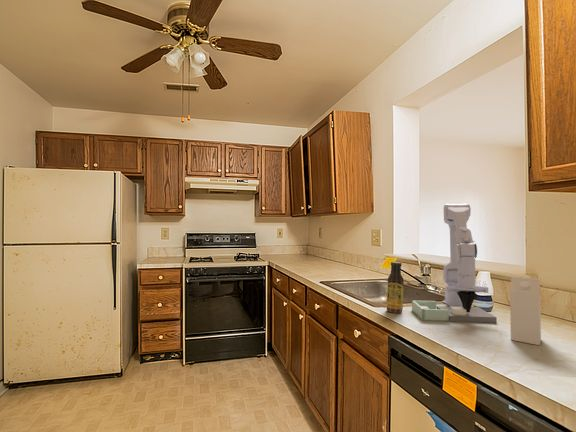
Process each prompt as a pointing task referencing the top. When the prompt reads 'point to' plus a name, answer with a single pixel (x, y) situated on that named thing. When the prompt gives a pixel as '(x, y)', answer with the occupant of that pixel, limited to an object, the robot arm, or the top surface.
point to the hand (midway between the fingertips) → (466, 311)
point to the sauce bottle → (395, 289)
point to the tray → (429, 311)
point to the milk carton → (525, 310)
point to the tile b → (458, 310)
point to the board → (470, 315)
